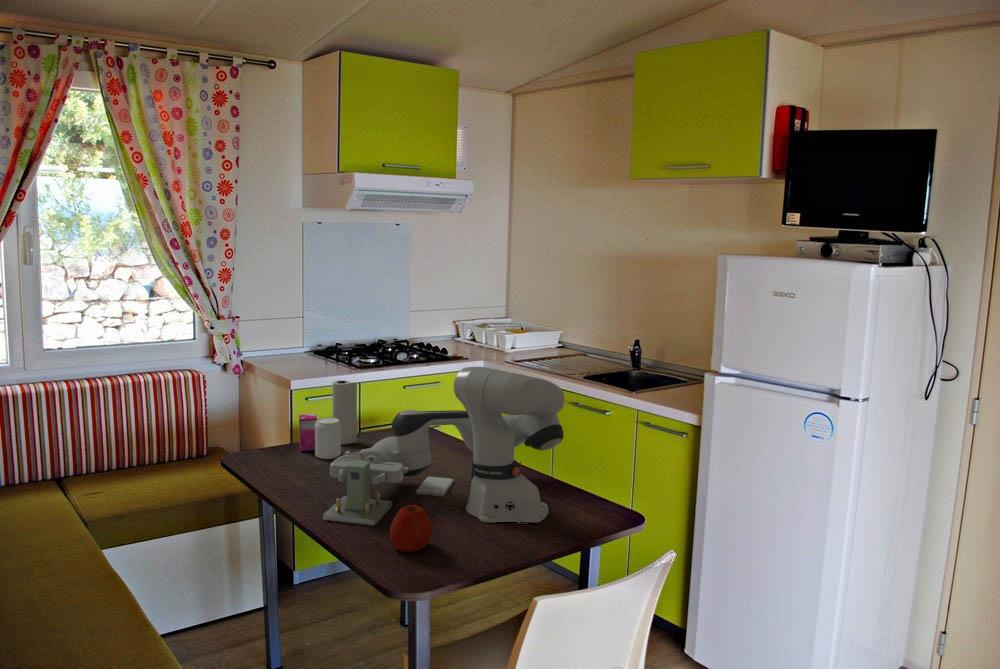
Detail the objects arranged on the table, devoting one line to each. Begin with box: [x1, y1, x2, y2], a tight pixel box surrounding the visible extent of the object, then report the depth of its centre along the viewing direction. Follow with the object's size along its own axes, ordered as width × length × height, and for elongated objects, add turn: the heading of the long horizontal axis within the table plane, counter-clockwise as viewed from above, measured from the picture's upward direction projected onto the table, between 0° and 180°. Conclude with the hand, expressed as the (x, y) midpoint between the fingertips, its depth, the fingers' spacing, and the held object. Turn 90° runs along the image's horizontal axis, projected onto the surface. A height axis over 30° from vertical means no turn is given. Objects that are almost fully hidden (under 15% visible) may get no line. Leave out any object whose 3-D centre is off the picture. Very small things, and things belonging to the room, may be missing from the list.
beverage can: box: [314, 417, 342, 460], centre depth 263 cm, size 8×8×12 cm
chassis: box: [322, 490, 393, 526], centre depth 217 cm, size 14×14×5 cm
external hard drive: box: [415, 476, 455, 497], centre depth 239 cm, size 2×8×12 cm
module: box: [346, 460, 371, 511], centre depth 216 cm, size 4×5×12 cm
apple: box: [389, 504, 433, 553], centre depth 197 cm, size 10×10×10 cm
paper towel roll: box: [331, 380, 358, 445], centre depth 277 cm, size 7×6×21 cm
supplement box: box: [298, 413, 318, 453], centre depth 270 cm, size 6×6×12 cm
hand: (357, 480), depth 215 cm, fingers open, 8 cm apart
